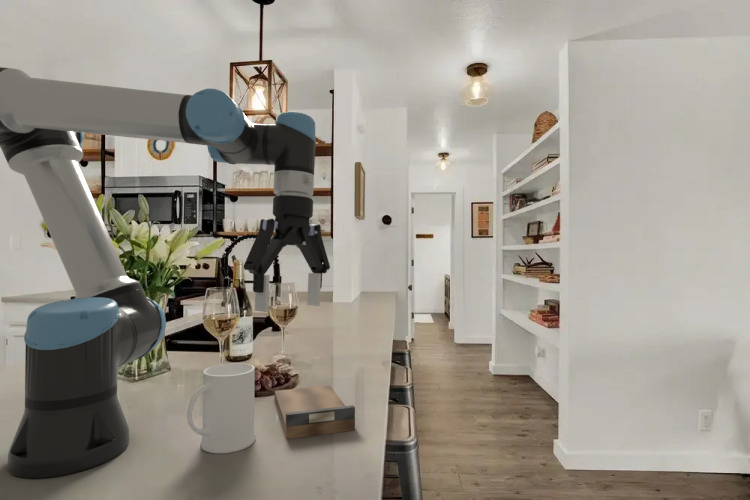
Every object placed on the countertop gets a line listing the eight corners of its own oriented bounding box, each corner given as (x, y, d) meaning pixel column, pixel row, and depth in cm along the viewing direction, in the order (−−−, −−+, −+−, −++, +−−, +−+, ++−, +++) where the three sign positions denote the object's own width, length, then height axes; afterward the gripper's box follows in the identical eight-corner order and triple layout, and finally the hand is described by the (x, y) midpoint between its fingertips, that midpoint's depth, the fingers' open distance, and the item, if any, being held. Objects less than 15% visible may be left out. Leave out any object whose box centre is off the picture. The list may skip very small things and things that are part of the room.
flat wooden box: (286, 439, 71) (286, 415, 71) (274, 400, 90) (274, 381, 90) (355, 430, 75) (355, 407, 75) (329, 394, 94) (330, 376, 94)
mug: (200, 468, 61) (201, 385, 61) (170, 451, 66) (171, 374, 67) (266, 439, 71) (266, 367, 71) (235, 427, 76) (235, 360, 76)
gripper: (255, 185, 68) (249, 316, 68) (348, 203, 89) (345, 304, 89) (225, 187, 73) (220, 311, 72) (321, 205, 93) (318, 301, 93)
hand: (289, 308), depth 81 cm, fingers open, 13 cm apart
